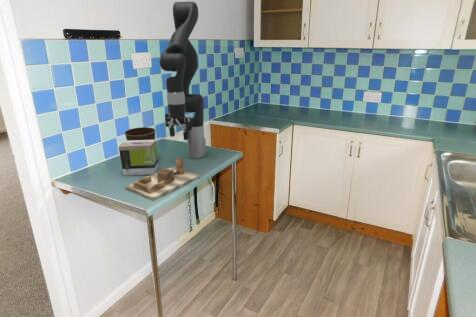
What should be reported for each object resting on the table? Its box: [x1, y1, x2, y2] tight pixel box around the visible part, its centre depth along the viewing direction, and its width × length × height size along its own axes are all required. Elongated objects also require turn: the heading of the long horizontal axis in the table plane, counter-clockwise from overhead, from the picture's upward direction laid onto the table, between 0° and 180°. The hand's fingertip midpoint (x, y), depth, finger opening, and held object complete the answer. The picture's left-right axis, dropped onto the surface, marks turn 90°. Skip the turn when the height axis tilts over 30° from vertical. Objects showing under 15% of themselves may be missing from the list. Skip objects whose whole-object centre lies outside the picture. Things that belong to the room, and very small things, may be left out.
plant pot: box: [124, 126, 156, 141], centre depth 164 cm, size 15×15×16 cm
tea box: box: [118, 139, 159, 176], centre depth 151 cm, size 15×10×15 cm, turn 92°
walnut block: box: [156, 157, 185, 185], centre depth 142 cm, size 14×5×7 cm, turn 152°
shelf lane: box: [124, 166, 201, 201], centre depth 140 cm, size 27×18×4 cm, turn 144°
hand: (179, 137), depth 143 cm, fingers open, 8 cm apart
